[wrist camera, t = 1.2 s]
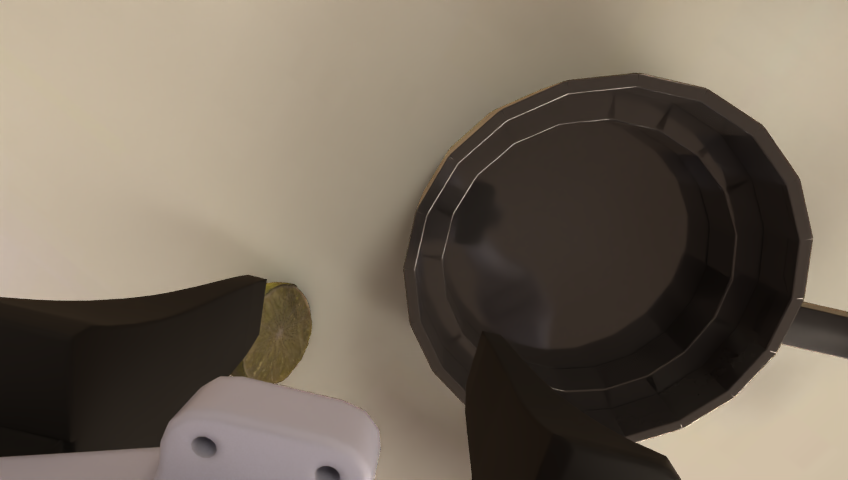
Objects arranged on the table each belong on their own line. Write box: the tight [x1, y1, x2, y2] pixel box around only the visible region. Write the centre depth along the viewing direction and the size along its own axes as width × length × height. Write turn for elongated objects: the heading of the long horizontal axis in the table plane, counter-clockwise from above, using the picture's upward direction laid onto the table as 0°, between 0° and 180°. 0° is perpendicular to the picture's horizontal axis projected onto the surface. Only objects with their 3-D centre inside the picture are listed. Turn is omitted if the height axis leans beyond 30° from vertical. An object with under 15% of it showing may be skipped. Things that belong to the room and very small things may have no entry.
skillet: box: [403, 73, 813, 443], centre depth 20 cm, size 16×16×4 cm
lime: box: [231, 282, 312, 384], centre depth 21 cm, size 4×5×5 cm
